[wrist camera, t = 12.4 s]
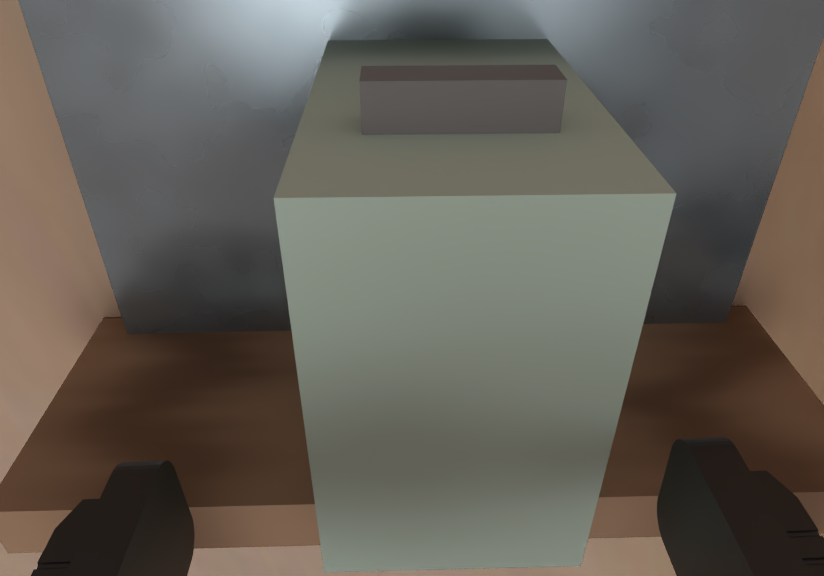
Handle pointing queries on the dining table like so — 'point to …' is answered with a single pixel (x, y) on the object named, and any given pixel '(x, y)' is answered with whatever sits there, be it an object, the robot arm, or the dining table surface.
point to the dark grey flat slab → (394, 20)
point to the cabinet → (462, 299)
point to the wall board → (286, 440)
